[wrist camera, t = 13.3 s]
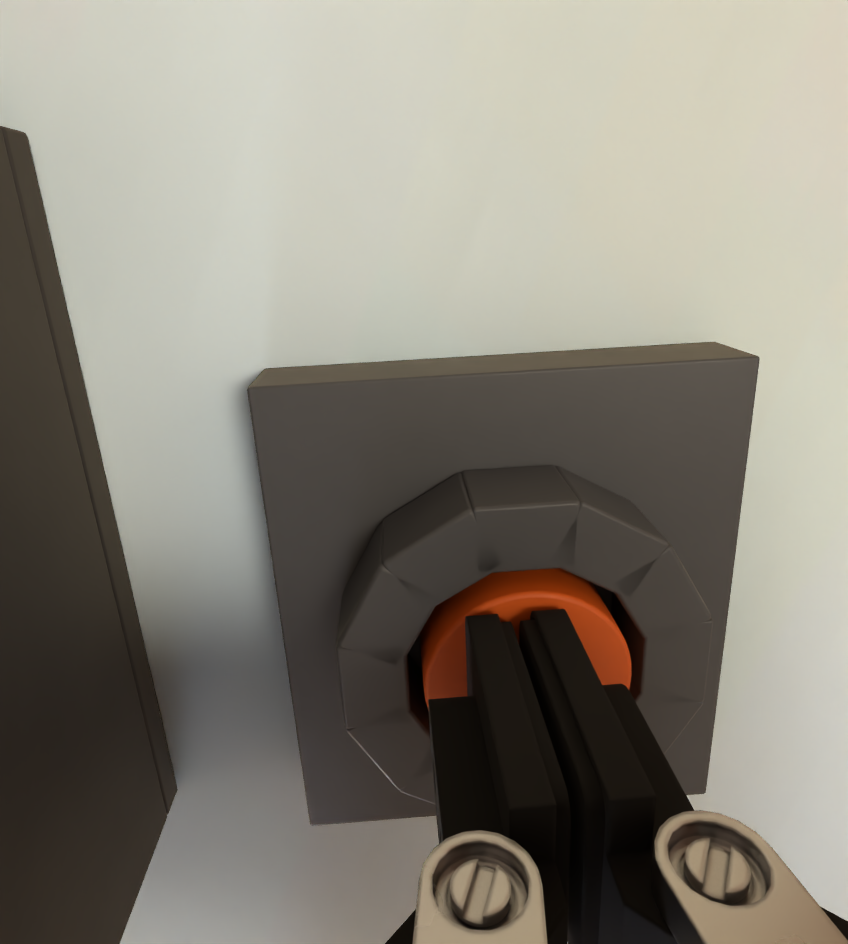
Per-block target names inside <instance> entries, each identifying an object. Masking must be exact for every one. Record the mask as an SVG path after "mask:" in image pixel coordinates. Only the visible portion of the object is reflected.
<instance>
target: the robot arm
mask: <svg viewBox="0 0 848 944" xmlns="http://www.w3.org/2000/svg"><path fill="white" fill-rule="evenodd" d="M465 637H466V667H467V696H463V697H451V698H439V699H428V709H429V727H430V743H431V758H432V771H433V783H434V794H435V804H436V815H437V825H438V836H439V845H438V846H436V847H435V848H434V849H433V850H432V852H431V853H430V854H429V856H428V857H427V859H426V860H425V862H424V864H423V867H422V871H421V875H420V878H419V885H418V895H417V905H416V910H415V911H414V912H413V913H412V914H411V915H410V916H409V917H408V919H407V920H406V921H405V922H404V923H403V924H402V925H401V926H400V928H399V929H398V930H397V931H396V932H395V933H394V934H393V935H392V936H391V938H390V939H389V940H388V941H387V942H386V943H385V944H567V941H568V944H848V921H846V920H844V919H842V918H840V917H838V916H836V915H835V914H833V913H831V912H829V911H827V910H825V909H824V908H822V907H820V906H819V905H818V904H817V902H816V901H815V900H814V899H813V897H812V896H811V895H810V894H809V893H808V891H807V890H806V889H805V888H804V886H803V885H802V884H801V883H800V881H799V880H798V879H797V878H796V877H795V875H794V874H793V873H792V872H791V870H790V869H789V868H788V867H787V866H786V864H785V863H784V862H783V861H782V859H781V858H780V857H779V856H778V854H777V853H776V852H775V851H774V850H773V848H772V847H771V846H770V845H769V844H768V843H767V842H766V841H765V840H764V839H763V838H762V837H761V836H760V835H759V834H758V833H757V832H755V831H753V830H752V829H750V828H749V827H747V826H746V825H744V824H743V823H741V822H739V821H737V820H735V819H732V818H730V817H727V816H725V815H722V814H719V813H713V812H707V811H701V810H700V811H694V809H693V807H692V805H691V804H690V802H689V800H688V798H687V796H686V794H685V792H684V791H683V789H682V787H681V785H680V783H679V781H678V780H677V778H676V776H675V774H674V772H673V770H672V768H671V767H670V765H669V763H668V761H667V759H666V757H665V756H664V754H663V752H662V750H661V748H660V746H659V744H658V743H657V741H656V739H655V737H654V735H653V733H652V731H651V730H650V728H649V726H648V724H647V722H646V720H645V719H644V717H643V715H642V713H641V711H640V709H639V707H638V706H637V704H636V702H635V700H634V698H633V696H632V694H631V693H630V691H629V690H628V688H627V687H626V686H625V685H623V684H610V685H602V683H601V681H600V679H599V677H598V675H597V673H596V671H595V669H594V667H593V665H592V663H591V661H590V659H589V657H588V655H587V653H586V651H585V649H584V647H583V644H582V642H581V640H580V638H579V636H578V634H577V632H576V630H575V628H574V626H573V624H572V622H571V620H570V618H569V616H568V614H567V612H566V610H565V609H552V610H539V611H532V612H531V615H530V620H522V621H520V625H519V643H518V640H517V637H516V634H515V631H514V628H513V625H512V623H511V622H510V621H509V622H500V618H499V616H498V614H487V615H474V616H466V617H465Z"/></svg>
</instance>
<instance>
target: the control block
mask: <svg viewBox="0 0 848 944" xmlns="http://www.w3.org/2000/svg"><path fill="white" fill-rule="evenodd" d="M758 367H759V357H758V356H755V355H752V354H749V353H746V352H743V351H740V350H737V349H734V348H731V347H728V346H725V345H723V344H720V343H717V342H704V343H687V344H671V345H654V346H637V347H620V348H603V349H587V350H570V351H553V352H536V353H520V354H503V355H486V356H469V357H452V358H436V359H419V360H402V361H385V362H369V363H352V364H335V365H318V366H302V367H285V368H268V369H264V370H263V371H262V372H261V374H260V375H259V376H258V377H257V378H256V379H255V380H254V381H253V382H252V384H251V385H250V386H249V387H248V389H247V391H248V398H249V405H250V412H251V419H252V426H253V433H254V439H255V446H256V453H257V460H258V467H259V474H260V481H261V488H262V495H263V502H264V509H265V516H266V523H267V529H268V536H269V543H270V550H271V557H272V564H273V571H274V578H275V585H276V592H277V599H278V606H279V613H280V619H281V626H282V633H283V640H284V647H285V654H286V661H287V668H288V675H289V682H290V689H291V696H292V702H293V709H294V716H295V723H296V730H297V737H298V744H299V751H300V758H301V765H302V772H303V779H304V786H305V792H306V799H307V806H308V813H309V820H310V825H312V826H314V825H327V824H339V823H351V822H363V821H376V820H388V819H400V818H412V817H425V816H437V815H436V804H435V794H434V783H433V771H432V758H431V743H430V727H429V711H428V708H427V705H426V701H425V695H424V686H423V674H422V661H421V648H420V632H421V630H422V629H423V627H424V625H425V623H426V622H427V620H428V618H429V617H430V615H431V613H432V611H433V610H434V608H435V606H437V605H439V604H440V603H442V602H444V601H445V600H447V599H449V598H450V597H452V596H454V595H455V594H457V593H459V592H461V591H462V590H464V589H466V588H467V587H469V586H471V585H472V584H474V583H476V582H478V581H479V580H481V579H483V578H484V577H486V576H488V575H489V574H491V573H497V572H511V571H525V570H540V569H554V568H561V569H563V570H565V571H567V572H570V573H572V574H574V575H576V576H578V577H581V578H583V579H585V580H587V581H589V582H592V583H593V585H594V586H595V588H596V590H597V591H598V593H599V595H600V597H601V598H602V600H603V602H604V603H605V605H606V607H607V608H608V610H609V612H610V614H611V615H612V617H613V619H614V620H615V622H616V624H617V626H618V627H619V629H620V631H621V633H622V635H623V636H624V638H625V640H626V643H627V646H628V649H629V652H630V657H631V682H630V688H629V691H630V693H631V694H632V696H633V698H634V700H635V702H636V704H637V706H638V707H639V709H640V711H641V713H642V715H643V717H644V719H645V720H646V722H647V724H648V726H649V728H650V730H651V731H652V733H653V735H654V737H655V739H656V741H657V743H658V744H659V746H660V748H661V750H662V752H663V754H664V756H665V757H666V759H667V761H668V763H669V765H670V767H671V768H672V770H673V772H674V774H675V776H676V778H677V780H678V781H679V783H680V785H681V787H682V789H683V791H684V792H685V794H686V795H694V794H704V793H705V792H706V785H707V777H708V769H709V761H710V753H711V745H712V737H713V729H714V721H715V713H716V705H717V696H718V688H719V680H720V672H721V664H722V656H723V648H724V640H725V632H726V624H727V616H728V608H729V600H730V592H731V584H732V576H733V568H734V560H735V552H736V544H737V536H738V528H739V520H740V512H741V503H742V495H743V487H744V479H745V471H746V463H747V455H748V447H749V439H750V431H751V423H752V415H753V407H754V399H755V391H756V383H757V375H758Z"/></svg>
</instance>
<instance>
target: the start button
mask: <svg viewBox="0 0 848 944" xmlns="http://www.w3.org/2000/svg"><path fill="white" fill-rule="evenodd" d="M552 609H565V610H566V612H567V614H568V616H569V618H570V620H571V622H572V624H573V626H574V628H575V630H576V632H577V634H578V636H579V638H580V640H581V642H582V644H583V647H584V649H585V651H586V653H587V655H588V657H589V659H590V661H591V663H592V665H593V667H594V669H595V671H596V673H597V675H598V677H599V679H600V681H601V683H602V685H610V684H623V685H625V686H626V687H627V688H628V690H629V688H630V682H631V657H630V652H629V649H628V646H627V643H626V640H625V638H624V636H623V635H622V633H621V631H620V629H619V627H618V626H617V624H616V622H615V620H614V619H613V617H612V615H611V614H610V612H609V610H608V608H607V607H606V605H605V603H604V602H603V600H602V598H601V597H600V595H599V593H598V591H597V590H596V588H595V586H594V585H593V583H592V582H589V581H587V580H585V579H583V578H581V577H578V576H576V575H574V574H572V573H570V572H567V571H565V570H563V569H561V568H554V569H540V570H525V571H511V572H497V573H491V574H489V575H488V576H486V577H484V578H483V579H481V580H479V581H478V582H476V583H474V584H472V585H471V586H469V587H467V588H466V589H464V590H462V591H461V592H459V593H457V594H455V595H454V596H452V597H450V598H449V599H447V600H445V601H444V602H442V603H440V604H439V605H437V606H435V608H434V610H433V611H432V613H431V615H430V617H429V618H428V620H427V622H426V623H425V625H424V627H423V629H422V630H421V632H420V648H421V661H422V674H423V686H424V695H425V701H426V705H427V708H428V699H439V698H451V697H463V696H467V667H466V637H465V617H466V616H474V615H487V614H498V616H499V618H500V622H509V621H510V622H511V623H512V625H513V628H514V631H515V634H516V637H517V640H518V643H519V625H520V621H522V620H530V615H531V612H532V611H539V610H552ZM428 711H429V709H428Z"/></svg>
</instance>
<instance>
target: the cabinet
mask: <svg viewBox="0 0 848 944" xmlns="http://www.w3.org/2000/svg"><path fill="white" fill-rule="evenodd" d="M176 792H177V786H176V781H175V777H174V773H173V768H172V764H171V760H170V755H169V751H168V747H167V742H166V738H165V734H164V729H163V725H162V721H161V716H160V712H159V707H158V703H157V699H156V694H155V690H154V686H153V681H152V677H151V673H150V668H149V664H148V660H147V655H146V651H145V647H144V642H143V638H142V634H141V629H140V625H139V621H138V616H137V612H136V608H135V603H134V599H133V594H132V590H131V586H130V581H129V577H128V573H127V568H126V564H125V560H124V555H123V551H122V547H121V542H120V538H119V534H118V529H117V525H116V521H115V516H114V512H113V508H112V503H111V499H110V495H109V490H108V486H107V482H106V477H105V473H104V468H103V464H102V460H101V455H100V451H99V447H98V442H97V438H96V434H95V429H94V425H93V421H92V416H91V412H90V408H89V403H88V399H87V395H86V390H85V386H84V382H83V377H82V373H81V369H80V364H79V360H78V355H77V351H76V347H75V342H74V338H73V334H72V329H71V325H70V321H69V316H68V312H67V308H66V303H65V299H64V295H63V290H62V286H61V282H60V277H59V273H58V269H57V264H56V260H55V256H54V251H53V247H52V243H51V238H50V234H49V229H48V225H47V221H46V216H45V212H44V208H43V203H42V199H41V195H40V190H39V186H38V182H37V177H36V173H35V169H34V164H33V160H32V156H31V151H30V147H29V143H28V138H27V136H26V134H25V133H24V132H21V131H17V130H14V129H10V128H6V127H3V126H0V944H119V943H120V941H121V938H122V935H123V933H124V930H125V928H126V925H127V922H128V920H129V917H130V914H131V912H132V909H133V906H134V904H135V901H136V898H137V896H138V893H139V890H140V888H141V885H142V882H143V880H144V877H145V874H146V872H147V869H148V866H149V864H150V861H151V858H152V856H153V853H154V850H155V848H156V845H157V842H158V840H159V837H160V834H161V832H162V829H163V826H164V824H165V821H166V818H167V814H168V813H169V811H170V808H171V805H172V803H173V800H174V797H175V795H176Z"/></svg>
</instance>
